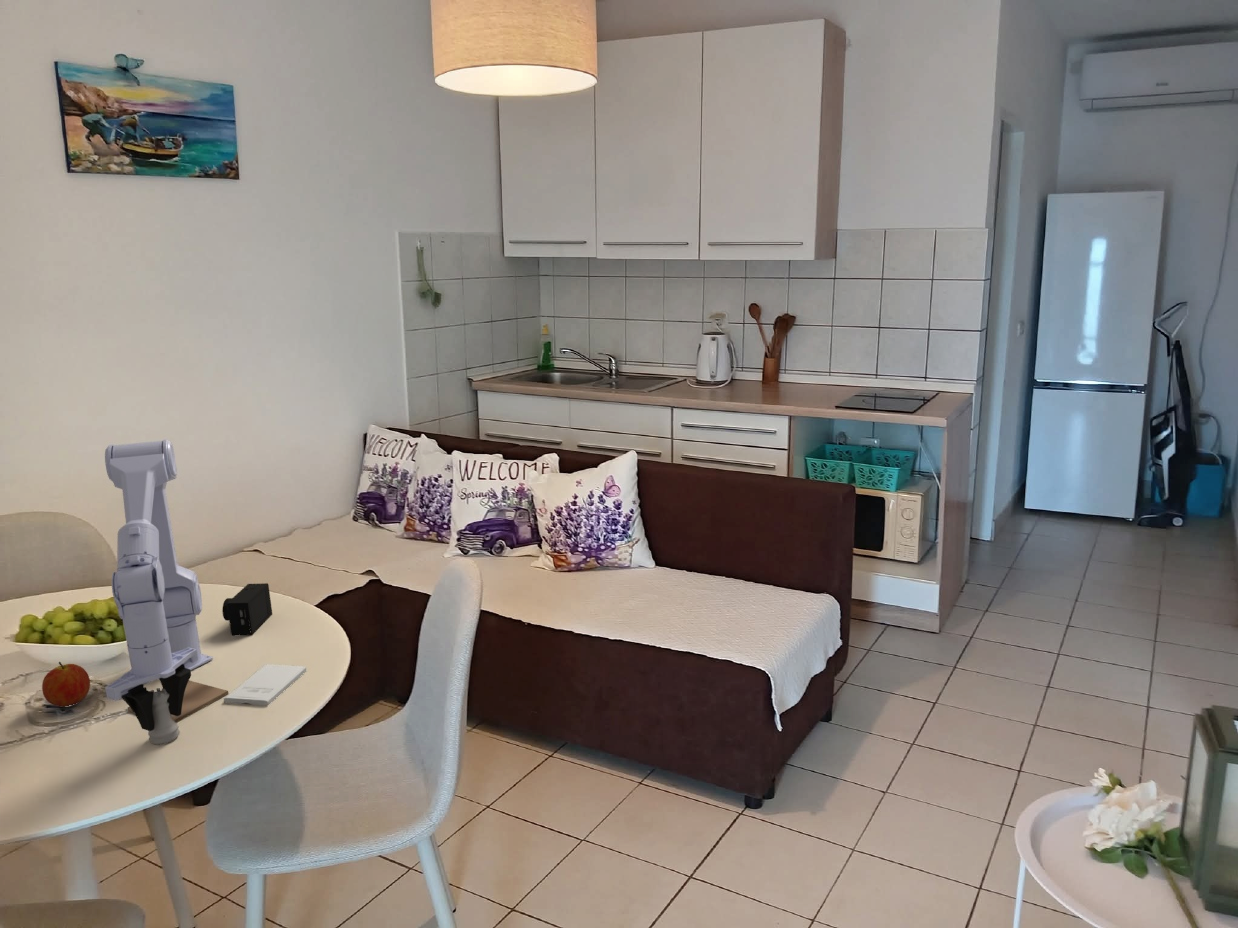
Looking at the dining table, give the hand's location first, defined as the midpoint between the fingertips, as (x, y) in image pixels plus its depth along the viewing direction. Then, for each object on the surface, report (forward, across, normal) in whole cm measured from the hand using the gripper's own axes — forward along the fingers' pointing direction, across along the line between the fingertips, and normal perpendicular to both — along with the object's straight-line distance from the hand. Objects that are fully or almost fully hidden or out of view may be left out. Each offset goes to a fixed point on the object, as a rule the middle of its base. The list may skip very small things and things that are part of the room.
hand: (161, 721), depth 146 cm
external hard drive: (+4, +19, -2) cm, 20 cm away
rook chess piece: (+3, 0, 0) cm, 3 cm away
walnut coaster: (+3, +9, +8) cm, 12 cm away
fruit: (+3, +1, +25) cm, 25 cm away
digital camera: (+3, +37, +23) cm, 44 cm away
